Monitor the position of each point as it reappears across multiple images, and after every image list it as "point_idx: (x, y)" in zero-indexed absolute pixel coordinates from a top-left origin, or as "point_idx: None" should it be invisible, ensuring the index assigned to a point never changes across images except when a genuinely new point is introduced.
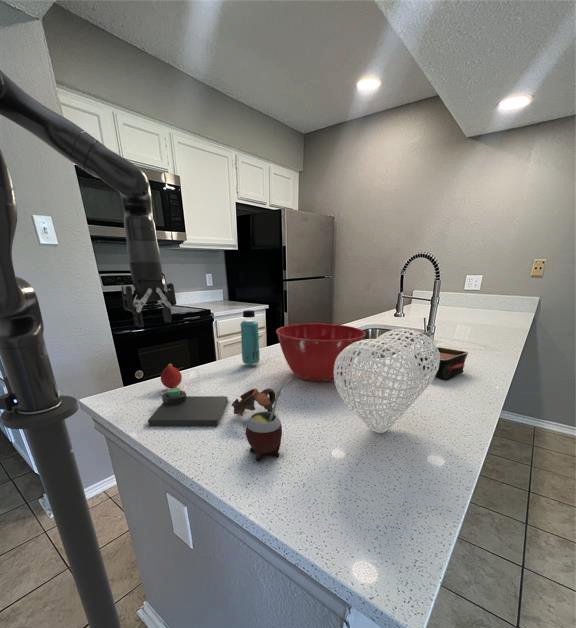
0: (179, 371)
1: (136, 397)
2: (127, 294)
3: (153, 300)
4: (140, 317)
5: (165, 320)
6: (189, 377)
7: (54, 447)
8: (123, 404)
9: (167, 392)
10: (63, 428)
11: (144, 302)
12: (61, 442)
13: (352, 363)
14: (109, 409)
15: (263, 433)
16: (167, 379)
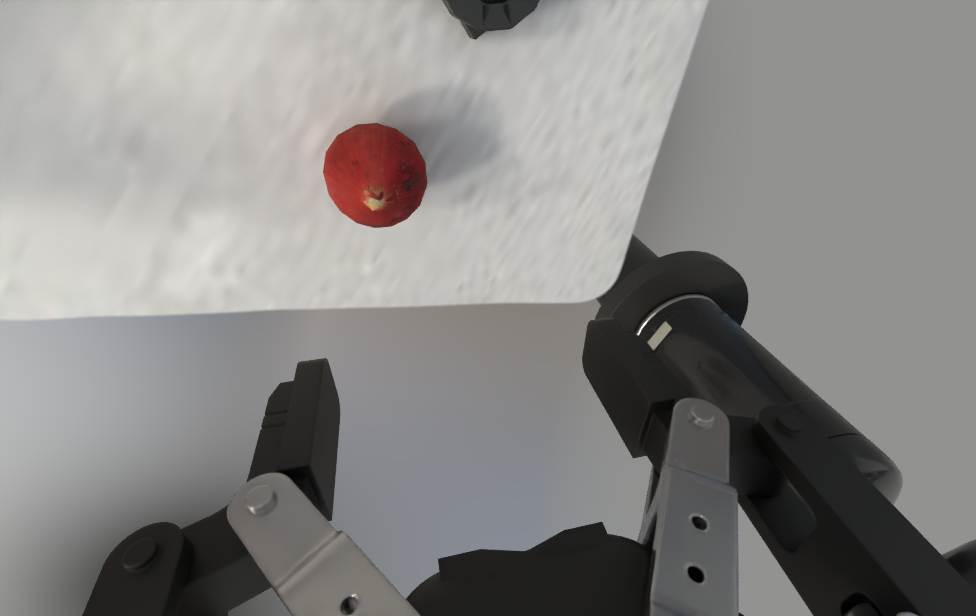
0: (332, 164)
1: (515, 198)
2: (961, 585)
3: (524, 553)
4: (647, 367)
5: (336, 399)
6: (234, 232)
7: (640, 247)
8: (578, 174)
9: (495, 20)
10: (628, 273)
11: (685, 489)
12: (628, 251)
13: None
14: (625, 171)
15: None
16: (416, 149)
